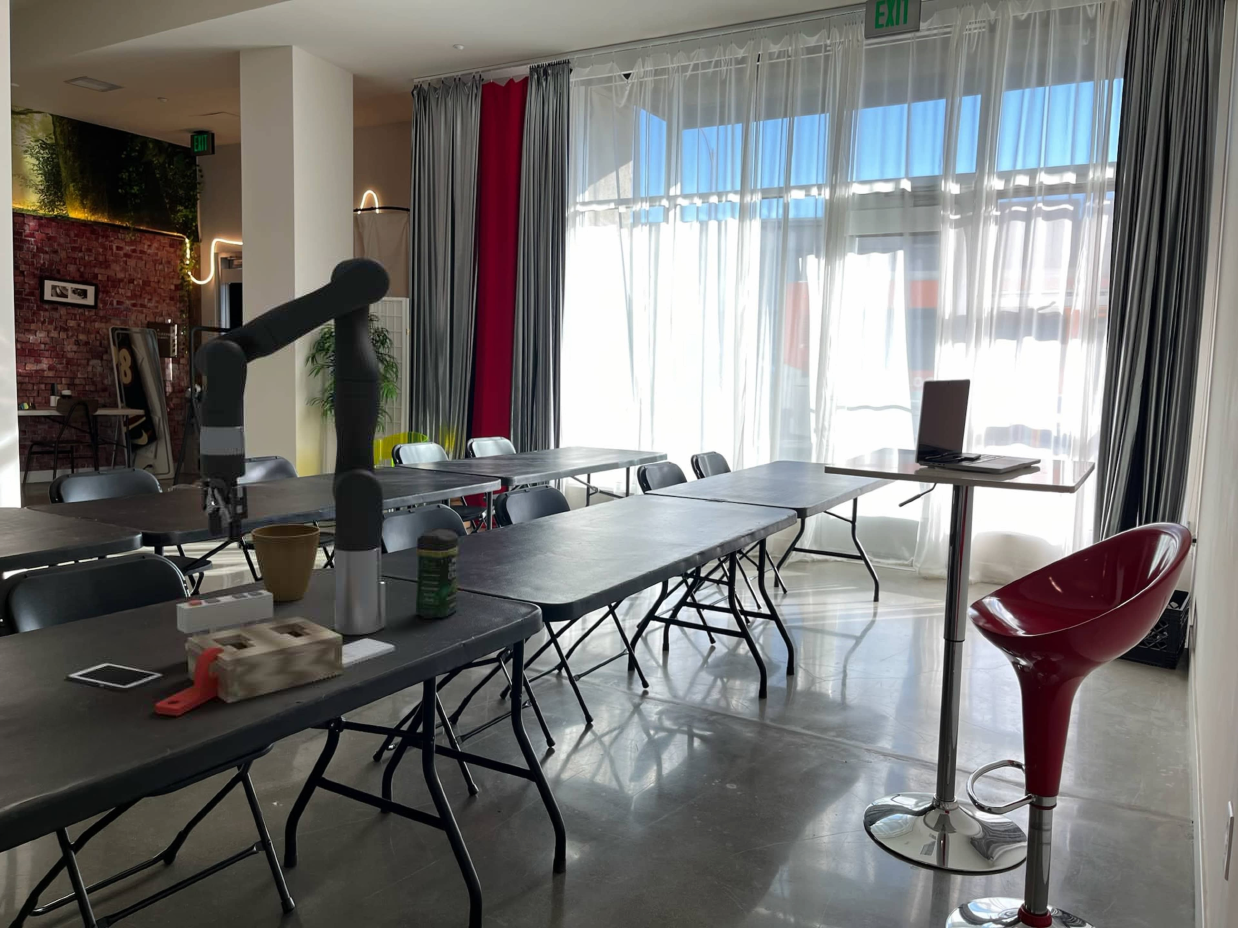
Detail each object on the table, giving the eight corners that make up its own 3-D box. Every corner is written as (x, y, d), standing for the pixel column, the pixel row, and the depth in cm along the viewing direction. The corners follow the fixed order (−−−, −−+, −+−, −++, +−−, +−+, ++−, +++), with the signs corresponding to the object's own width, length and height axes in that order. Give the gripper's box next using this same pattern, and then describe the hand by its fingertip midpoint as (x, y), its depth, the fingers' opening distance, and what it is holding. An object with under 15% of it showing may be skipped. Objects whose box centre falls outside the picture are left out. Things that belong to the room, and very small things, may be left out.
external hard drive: (394, 653, 169) (343, 670, 159) (365, 645, 174) (313, 662, 163) (394, 645, 169) (343, 662, 159) (365, 637, 173) (313, 653, 163)
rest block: (237, 649, 167) (236, 618, 167) (244, 652, 165) (243, 621, 165) (210, 654, 164) (209, 623, 163) (217, 658, 162) (216, 626, 161)
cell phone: (105, 667, 157) (105, 661, 157) (166, 679, 152) (166, 673, 152) (64, 680, 150) (63, 675, 150) (126, 694, 144) (126, 688, 144)
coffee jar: (444, 620, 190) (444, 535, 188) (410, 617, 191) (410, 533, 190) (463, 609, 199) (463, 528, 197) (431, 606, 201) (431, 525, 199)
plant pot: (240, 597, 204) (239, 529, 203) (300, 586, 216) (299, 521, 214) (273, 609, 195) (271, 538, 193) (333, 597, 206) (332, 530, 204)
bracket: (204, 686, 147) (203, 640, 147) (228, 689, 146) (227, 642, 146) (152, 712, 136) (150, 662, 135) (177, 715, 135) (176, 665, 134)
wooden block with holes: (298, 652, 166) (298, 616, 166) (342, 673, 155) (342, 635, 155) (188, 677, 152) (187, 637, 151) (228, 702, 141) (227, 660, 140)
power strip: (264, 632, 171) (263, 587, 170) (273, 637, 169) (272, 591, 168) (177, 650, 160) (176, 601, 159) (186, 655, 157) (185, 606, 156)
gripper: (260, 453, 158) (262, 541, 160) (226, 447, 168) (228, 530, 170) (218, 455, 153) (220, 547, 155) (186, 448, 163) (188, 535, 164)
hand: (224, 538), depth 162 cm, fingers open, 8 cm apart
